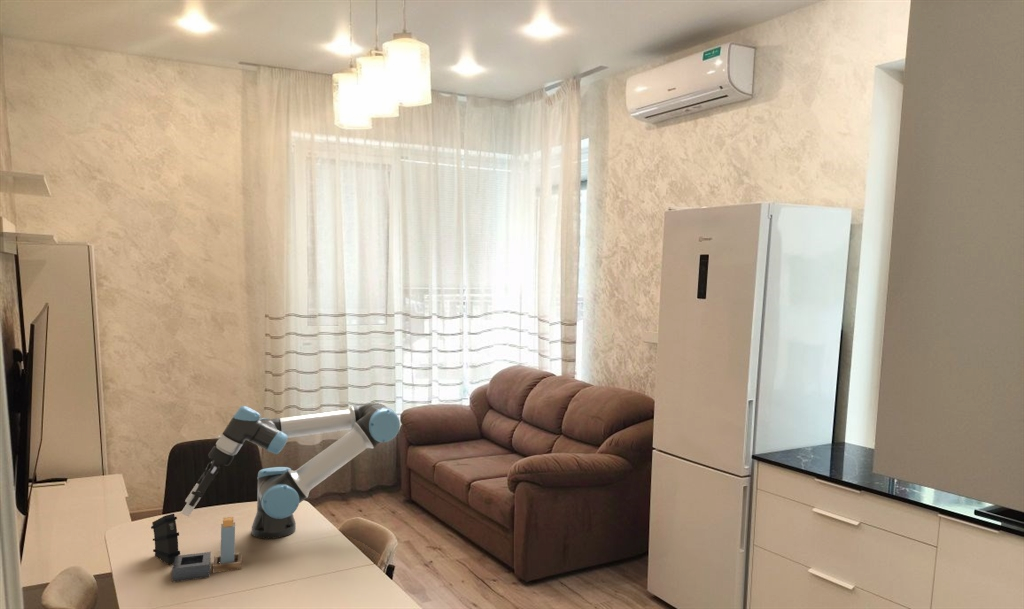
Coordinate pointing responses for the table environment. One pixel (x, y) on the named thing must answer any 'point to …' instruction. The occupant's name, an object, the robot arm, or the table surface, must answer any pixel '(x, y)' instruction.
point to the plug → (227, 540)
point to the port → (191, 566)
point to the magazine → (166, 538)
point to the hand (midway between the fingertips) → (186, 508)
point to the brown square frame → (227, 565)
